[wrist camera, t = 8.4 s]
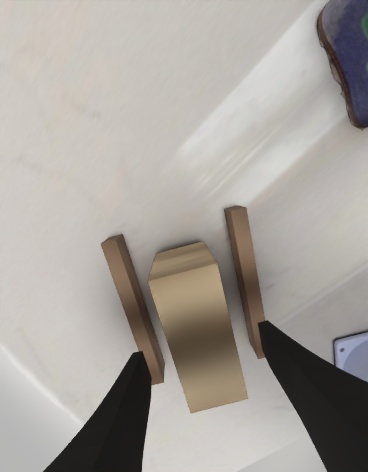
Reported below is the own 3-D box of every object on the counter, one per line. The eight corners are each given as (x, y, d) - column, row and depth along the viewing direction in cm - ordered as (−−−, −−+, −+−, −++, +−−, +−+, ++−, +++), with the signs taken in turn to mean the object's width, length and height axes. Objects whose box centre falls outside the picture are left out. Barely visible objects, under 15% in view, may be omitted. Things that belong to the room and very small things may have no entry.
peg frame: (261, 339, 20) (270, 355, 18) (153, 366, 20) (151, 385, 18) (237, 205, 17) (246, 207, 15) (109, 237, 17) (100, 243, 15)
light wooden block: (228, 342, 18) (248, 398, 13) (186, 353, 18) (190, 413, 13) (203, 241, 16) (217, 263, 11) (155, 253, 16) (147, 281, 11)
